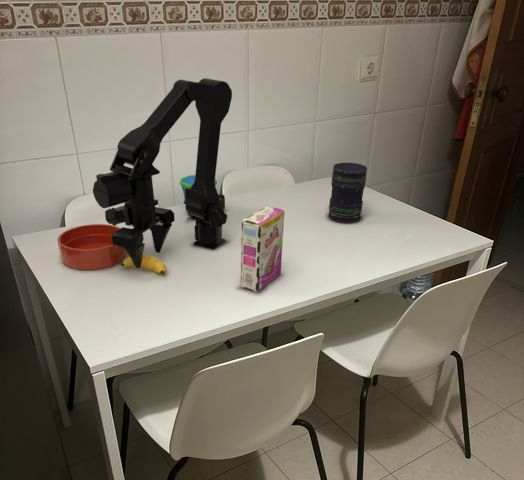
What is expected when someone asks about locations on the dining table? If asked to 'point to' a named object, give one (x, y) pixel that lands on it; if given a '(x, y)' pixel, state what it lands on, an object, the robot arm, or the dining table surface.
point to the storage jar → (347, 192)
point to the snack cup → (188, 182)
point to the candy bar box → (261, 248)
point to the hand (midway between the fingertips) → (148, 260)
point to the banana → (147, 264)
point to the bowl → (90, 247)
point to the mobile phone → (221, 203)
